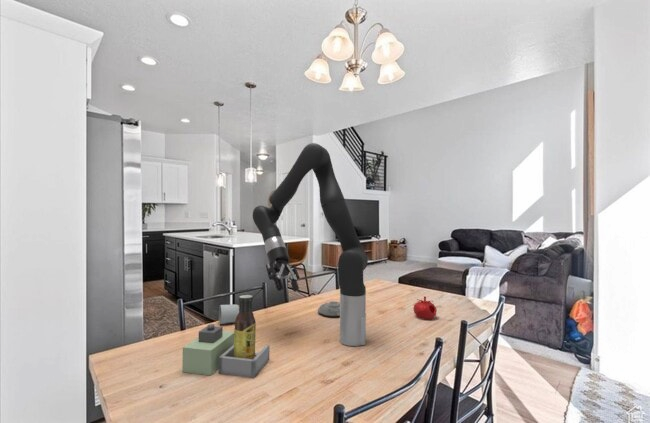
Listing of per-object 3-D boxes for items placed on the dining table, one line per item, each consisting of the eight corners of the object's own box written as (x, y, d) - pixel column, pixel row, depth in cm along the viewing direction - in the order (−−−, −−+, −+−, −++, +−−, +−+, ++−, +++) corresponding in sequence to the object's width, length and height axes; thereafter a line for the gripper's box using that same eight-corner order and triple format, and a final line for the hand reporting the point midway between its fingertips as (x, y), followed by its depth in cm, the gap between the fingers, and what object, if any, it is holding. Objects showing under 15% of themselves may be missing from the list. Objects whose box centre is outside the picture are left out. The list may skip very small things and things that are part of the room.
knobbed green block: (271, 357, 97) (271, 321, 97) (252, 380, 83) (252, 339, 83) (210, 350, 101) (210, 316, 101) (182, 371, 87) (183, 332, 87)
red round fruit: (412, 319, 133) (412, 298, 133) (414, 312, 143) (414, 293, 143) (436, 322, 130) (435, 300, 130) (437, 315, 139) (436, 294, 139)
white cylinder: (241, 323, 126) (241, 305, 126) (220, 326, 122) (220, 307, 122) (236, 316, 135) (236, 299, 136) (217, 319, 132) (217, 301, 132)
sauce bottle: (249, 369, 87) (250, 300, 87) (229, 367, 88) (230, 298, 89) (258, 358, 94) (259, 294, 94) (240, 356, 95) (240, 293, 95)
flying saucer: (350, 309, 148) (350, 298, 148) (349, 319, 133) (349, 307, 133) (320, 307, 150) (320, 296, 150) (315, 318, 135) (315, 305, 135)
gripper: (270, 243, 108) (283, 285, 101) (295, 248, 120) (308, 286, 112) (256, 253, 111) (267, 295, 103) (282, 257, 123) (294, 295, 115)
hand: (288, 290), depth 108 cm, fingers open, 8 cm apart
